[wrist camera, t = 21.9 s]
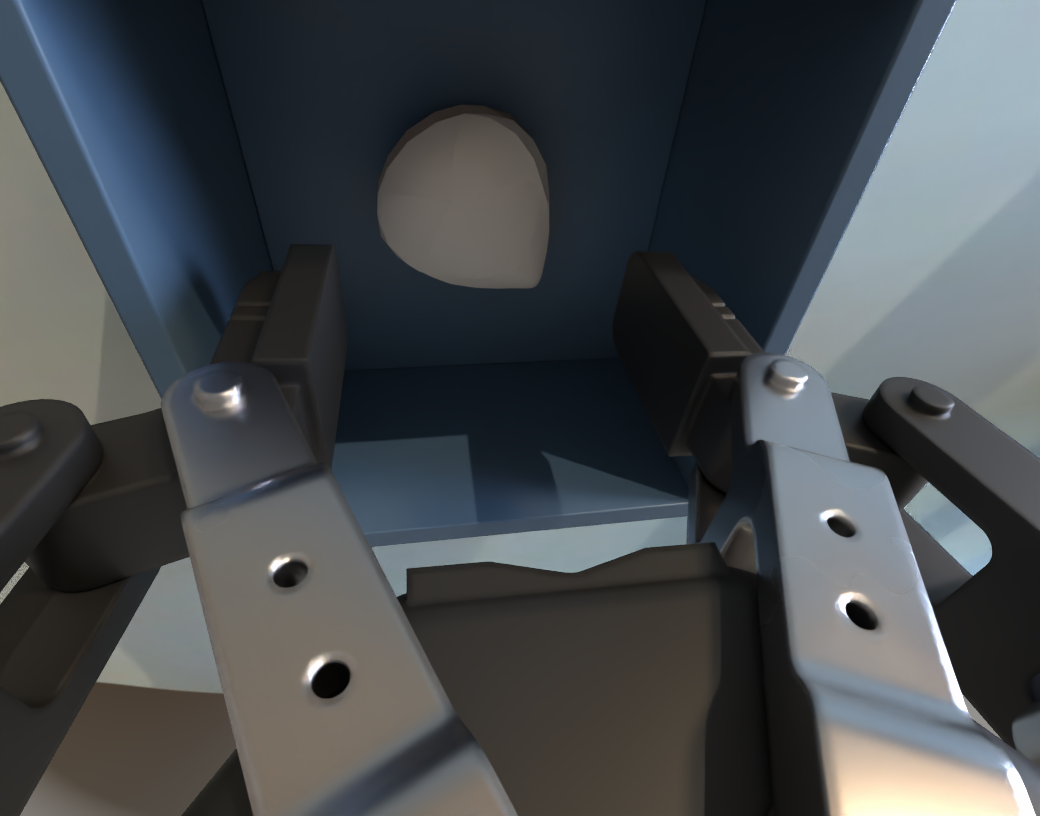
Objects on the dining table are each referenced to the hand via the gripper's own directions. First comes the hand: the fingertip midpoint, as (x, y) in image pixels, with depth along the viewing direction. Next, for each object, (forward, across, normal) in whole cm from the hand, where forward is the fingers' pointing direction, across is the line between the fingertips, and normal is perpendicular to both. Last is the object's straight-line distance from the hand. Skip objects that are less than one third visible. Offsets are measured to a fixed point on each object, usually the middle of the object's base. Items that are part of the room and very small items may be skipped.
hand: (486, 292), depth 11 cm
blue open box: (+2, 0, 0) cm, 2 cm away
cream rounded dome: (+5, 0, 0) cm, 5 cm away
